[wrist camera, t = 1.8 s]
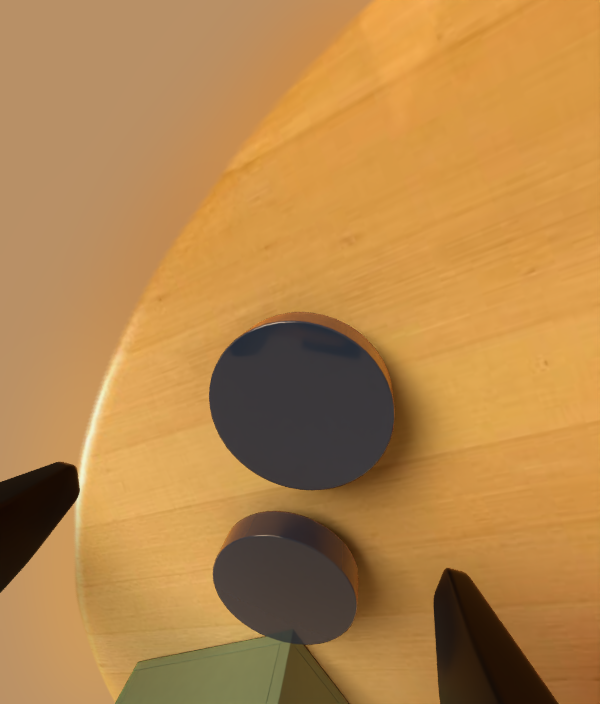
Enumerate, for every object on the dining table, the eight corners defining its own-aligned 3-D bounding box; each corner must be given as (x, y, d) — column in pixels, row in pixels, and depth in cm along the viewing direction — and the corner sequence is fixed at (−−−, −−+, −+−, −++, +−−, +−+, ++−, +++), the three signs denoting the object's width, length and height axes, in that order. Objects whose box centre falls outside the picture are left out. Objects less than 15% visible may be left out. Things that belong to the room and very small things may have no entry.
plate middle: (276, 606, 20) (263, 654, 18) (208, 518, 19) (185, 557, 17) (383, 581, 18) (385, 632, 15) (314, 478, 16) (304, 517, 14)
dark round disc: (286, 473, 17) (272, 511, 14) (203, 355, 16) (174, 375, 13) (421, 419, 14) (431, 454, 12) (337, 273, 13) (329, 281, 11)
